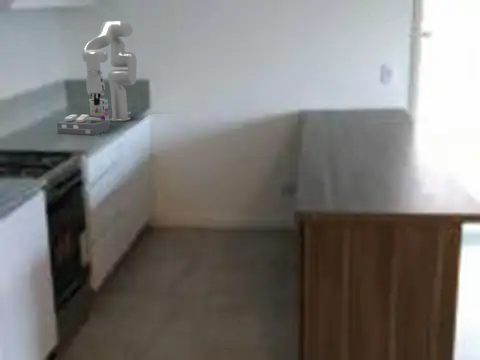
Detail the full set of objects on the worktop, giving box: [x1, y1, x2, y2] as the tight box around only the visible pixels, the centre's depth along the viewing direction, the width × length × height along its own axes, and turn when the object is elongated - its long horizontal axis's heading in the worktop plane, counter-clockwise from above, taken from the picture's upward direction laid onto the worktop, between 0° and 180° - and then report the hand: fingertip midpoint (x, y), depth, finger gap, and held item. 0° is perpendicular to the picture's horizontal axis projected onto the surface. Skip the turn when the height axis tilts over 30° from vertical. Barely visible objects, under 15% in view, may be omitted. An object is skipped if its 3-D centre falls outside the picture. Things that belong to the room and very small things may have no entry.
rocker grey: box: [63, 114, 79, 121], centre depth 409 cm, size 7×4×2 cm, turn 157°
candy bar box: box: [88, 98, 111, 127], centre depth 423 cm, size 11×5×16 cm, turn 62°
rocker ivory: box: [76, 113, 90, 122], centre depth 406 cm, size 7×4×2 cm, turn 157°
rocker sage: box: [87, 116, 101, 121], centre depth 403 cm, size 7×4×2 cm, turn 157°
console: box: [56, 118, 110, 136], centre depth 407 cm, size 14×26×7 cm, turn 67°
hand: (97, 104), depth 405 cm, fingers closed
